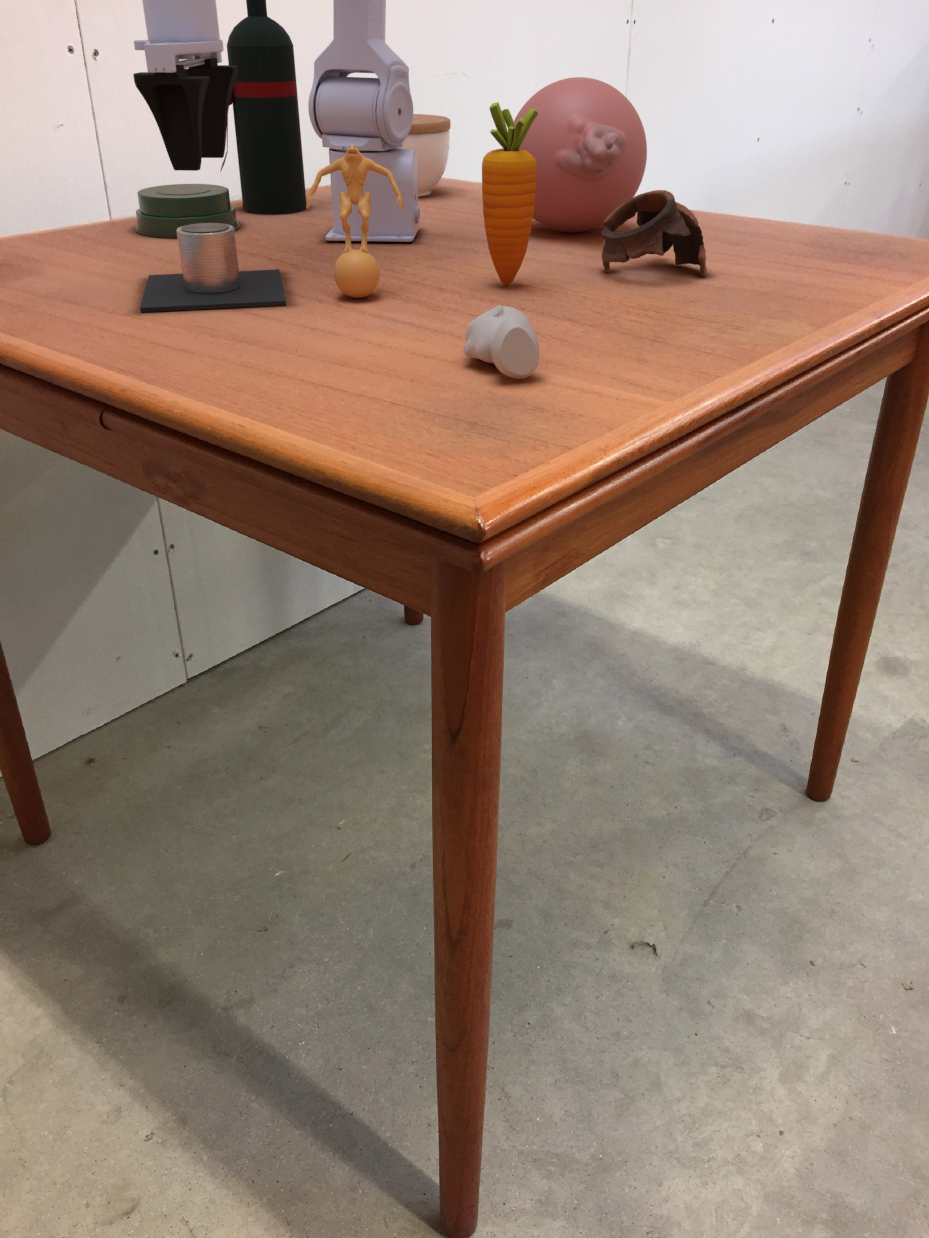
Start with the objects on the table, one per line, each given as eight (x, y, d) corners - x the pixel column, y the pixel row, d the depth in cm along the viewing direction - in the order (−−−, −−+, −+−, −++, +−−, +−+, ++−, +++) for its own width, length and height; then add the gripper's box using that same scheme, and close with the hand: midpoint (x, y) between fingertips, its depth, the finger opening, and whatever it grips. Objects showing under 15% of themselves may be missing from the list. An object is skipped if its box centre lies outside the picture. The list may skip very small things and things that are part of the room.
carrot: (539, 282, 93) (547, 100, 85) (525, 294, 89) (531, 105, 81) (489, 277, 95) (491, 99, 87) (472, 290, 91) (472, 103, 83)
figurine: (307, 302, 87) (295, 150, 80) (316, 286, 92) (305, 141, 85) (404, 303, 87) (399, 150, 80) (407, 286, 92) (403, 141, 85)
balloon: (513, 254, 103) (517, 85, 95) (498, 219, 120) (501, 73, 112) (661, 253, 104) (678, 85, 96) (626, 218, 121) (638, 73, 113)
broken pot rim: (719, 289, 93) (689, 211, 88) (623, 329, 96) (589, 256, 91) (706, 230, 101) (679, 155, 96) (618, 269, 105) (587, 198, 99)
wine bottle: (224, 205, 128) (191, -81, 112) (304, 202, 130) (283, -80, 114) (224, 216, 122) (188, -86, 106) (308, 213, 123) (286, -85, 108)
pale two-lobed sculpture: (468, 366, 75) (533, 344, 75) (479, 400, 68) (551, 375, 68) (450, 310, 73) (517, 287, 73) (460, 339, 66) (534, 314, 66)
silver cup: (246, 281, 91) (240, 222, 89) (232, 294, 87) (225, 233, 85) (193, 280, 92) (185, 221, 89) (177, 293, 88) (168, 232, 85)
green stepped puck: (250, 219, 120) (246, 182, 117) (225, 239, 110) (220, 199, 108) (154, 218, 120) (149, 181, 118) (120, 237, 110) (114, 198, 108)
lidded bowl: (346, 200, 132) (341, 105, 126) (370, 185, 142) (366, 97, 136) (441, 202, 130) (440, 107, 124) (458, 187, 140) (457, 99, 135)
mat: (279, 273, 96) (278, 269, 96) (286, 305, 86) (285, 300, 86) (149, 279, 94) (148, 275, 93) (140, 312, 84) (139, 307, 83)
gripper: (155, -22, 86) (179, 152, 93) (92, -26, 73) (125, 175, 81) (236, -22, 85) (254, 152, 93) (187, -26, 73) (212, 176, 80)
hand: (200, 163), depth 87 cm, fingers open, 7 cm apart
